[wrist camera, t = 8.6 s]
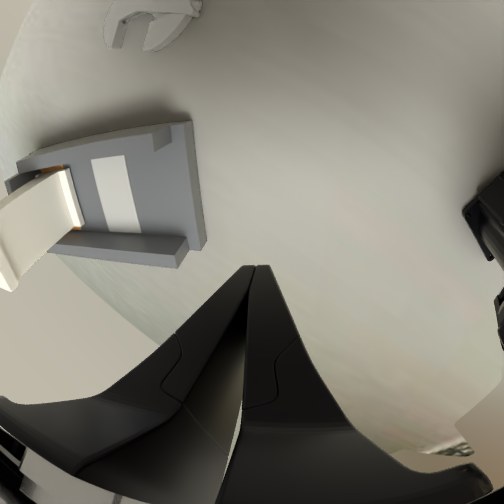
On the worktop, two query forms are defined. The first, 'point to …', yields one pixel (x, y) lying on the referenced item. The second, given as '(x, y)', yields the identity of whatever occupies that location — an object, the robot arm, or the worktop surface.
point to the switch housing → (128, 193)
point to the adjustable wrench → (160, 30)
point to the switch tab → (35, 222)
